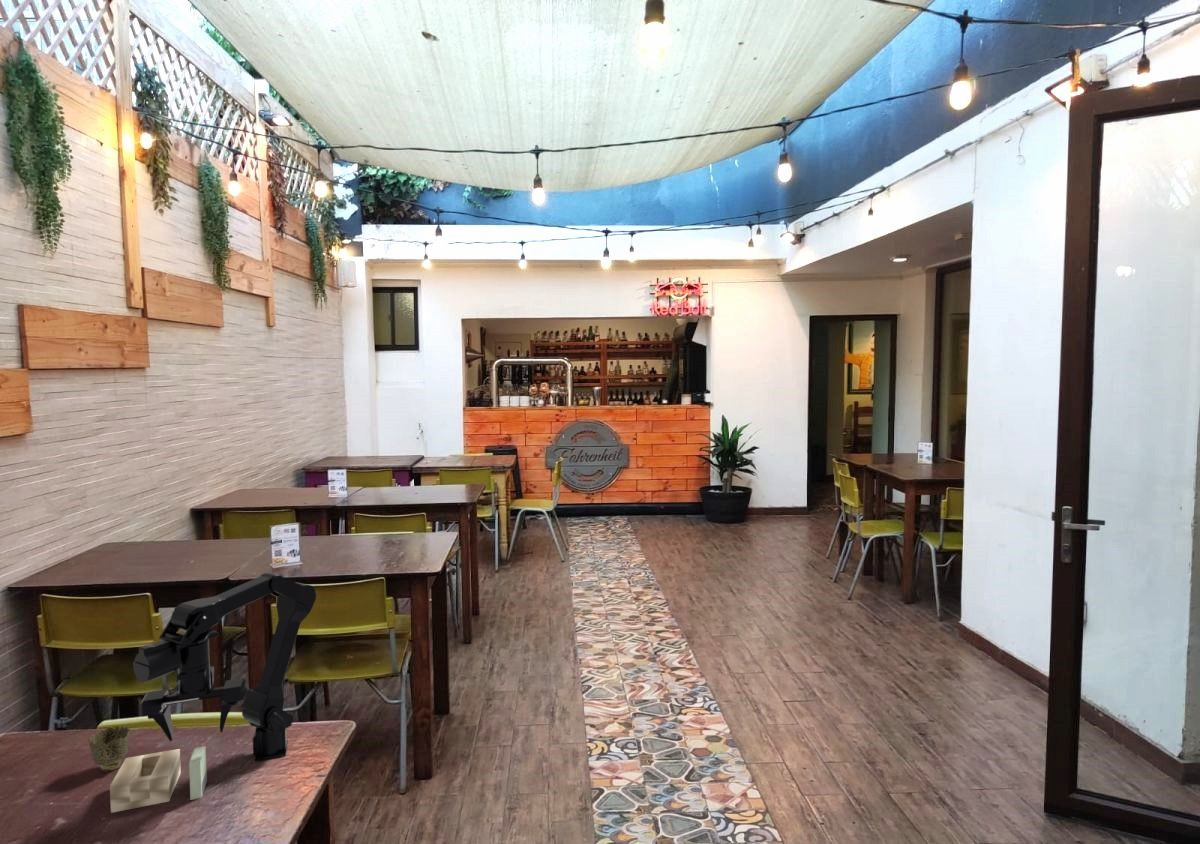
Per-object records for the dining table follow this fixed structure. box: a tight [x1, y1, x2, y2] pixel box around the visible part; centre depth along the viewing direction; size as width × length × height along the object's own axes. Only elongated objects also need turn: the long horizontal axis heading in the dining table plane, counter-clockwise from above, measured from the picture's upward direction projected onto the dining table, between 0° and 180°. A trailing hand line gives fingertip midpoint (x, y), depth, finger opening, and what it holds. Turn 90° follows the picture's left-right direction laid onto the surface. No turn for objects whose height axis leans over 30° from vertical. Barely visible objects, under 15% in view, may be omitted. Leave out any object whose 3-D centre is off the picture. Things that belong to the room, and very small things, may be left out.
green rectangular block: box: [188, 745, 208, 801], centre depth 141 cm, size 2×6×8 cm, turn 21°
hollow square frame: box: [109, 748, 182, 814], centre depth 141 cm, size 10×11×6 cm
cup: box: [88, 725, 131, 772], centre depth 150 cm, size 8×7×8 cm
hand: (197, 735), depth 141 cm, fingers open, 9 cm apart
